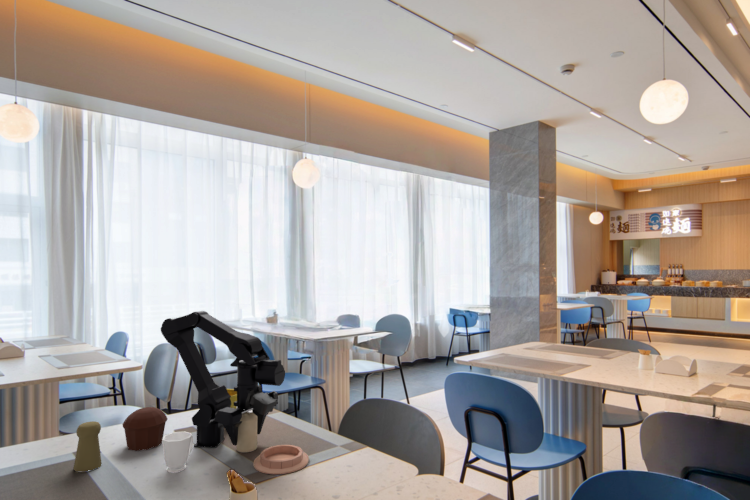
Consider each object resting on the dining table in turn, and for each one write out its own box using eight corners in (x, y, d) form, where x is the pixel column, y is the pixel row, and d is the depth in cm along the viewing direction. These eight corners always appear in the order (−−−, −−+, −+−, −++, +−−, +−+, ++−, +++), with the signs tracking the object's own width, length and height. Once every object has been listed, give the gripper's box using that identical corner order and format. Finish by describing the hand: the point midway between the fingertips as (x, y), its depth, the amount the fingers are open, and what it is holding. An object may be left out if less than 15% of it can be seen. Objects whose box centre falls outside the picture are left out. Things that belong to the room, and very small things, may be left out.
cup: (154, 474, 109) (155, 440, 109) (179, 457, 119) (180, 426, 119) (180, 476, 108) (181, 442, 108) (203, 459, 117) (204, 427, 118)
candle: (259, 445, 127) (260, 409, 127) (252, 453, 121) (253, 415, 122) (241, 444, 127) (241, 408, 128) (233, 452, 122) (233, 415, 122)
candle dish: (245, 473, 109) (245, 463, 109) (263, 450, 123) (263, 441, 123) (302, 475, 108) (302, 465, 108) (313, 451, 122) (313, 442, 122)
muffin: (143, 455, 120) (143, 417, 120) (111, 450, 123) (112, 413, 124) (175, 439, 131) (176, 405, 131) (146, 435, 135) (147, 401, 135)
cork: (107, 464, 114) (108, 420, 115) (85, 474, 109) (86, 428, 109) (89, 460, 116) (91, 417, 117) (67, 470, 111) (68, 425, 111)
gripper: (246, 394, 113) (245, 457, 112) (291, 378, 130) (290, 433, 129) (214, 389, 118) (213, 449, 117) (261, 374, 135) (260, 427, 134)
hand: (246, 439), depth 124 cm, fingers open, 9 cm apart
